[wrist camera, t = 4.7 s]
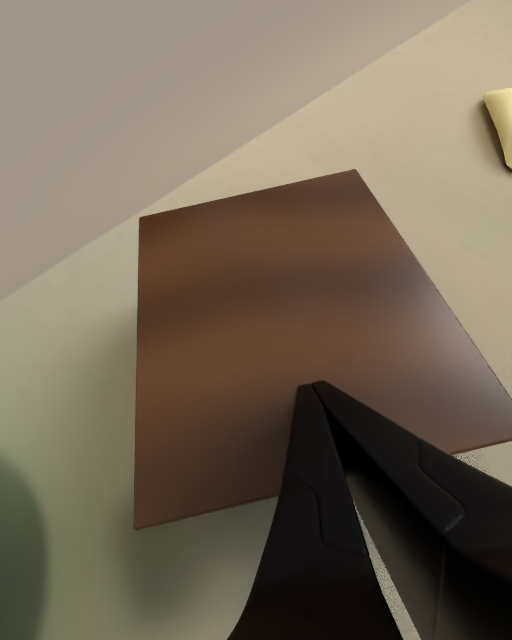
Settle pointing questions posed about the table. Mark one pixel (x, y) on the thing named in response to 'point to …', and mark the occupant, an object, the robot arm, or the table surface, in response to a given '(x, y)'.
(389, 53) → the table surface
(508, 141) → the cloth
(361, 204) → the lid
